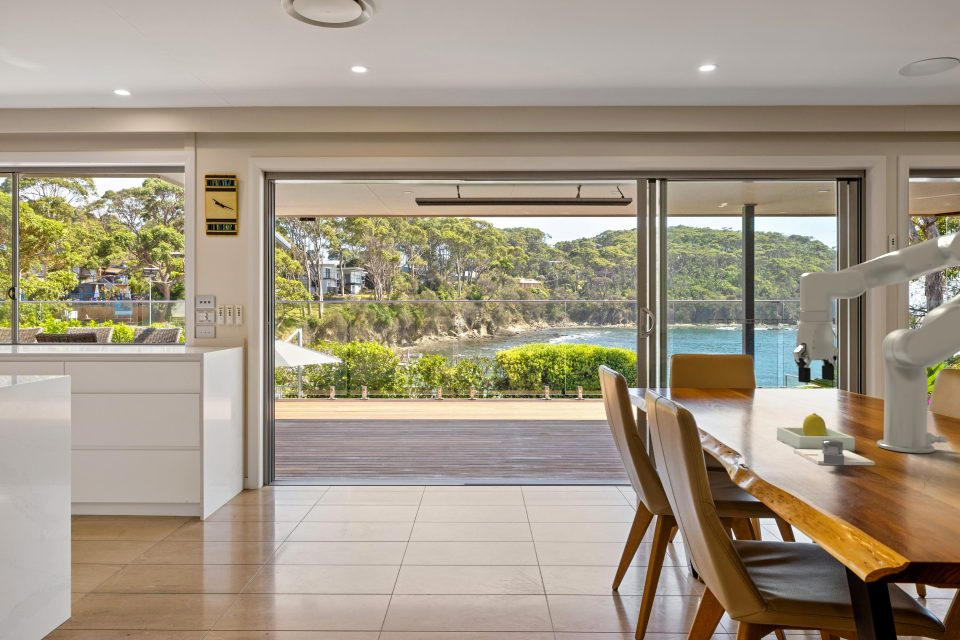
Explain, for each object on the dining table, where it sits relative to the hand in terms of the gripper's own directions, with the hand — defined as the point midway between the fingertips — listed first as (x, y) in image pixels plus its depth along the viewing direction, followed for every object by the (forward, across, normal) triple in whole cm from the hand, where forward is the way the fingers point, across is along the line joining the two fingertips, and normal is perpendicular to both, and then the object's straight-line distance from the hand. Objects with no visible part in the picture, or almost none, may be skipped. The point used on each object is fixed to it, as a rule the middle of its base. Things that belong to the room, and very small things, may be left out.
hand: (816, 381), depth 171 cm
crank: (+16, +16, +15) cm, 28 cm away
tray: (+17, +1, 0) cm, 17 cm away
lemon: (+17, +1, 0) cm, 17 cm away
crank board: (+17, +11, +12) cm, 24 cm away
